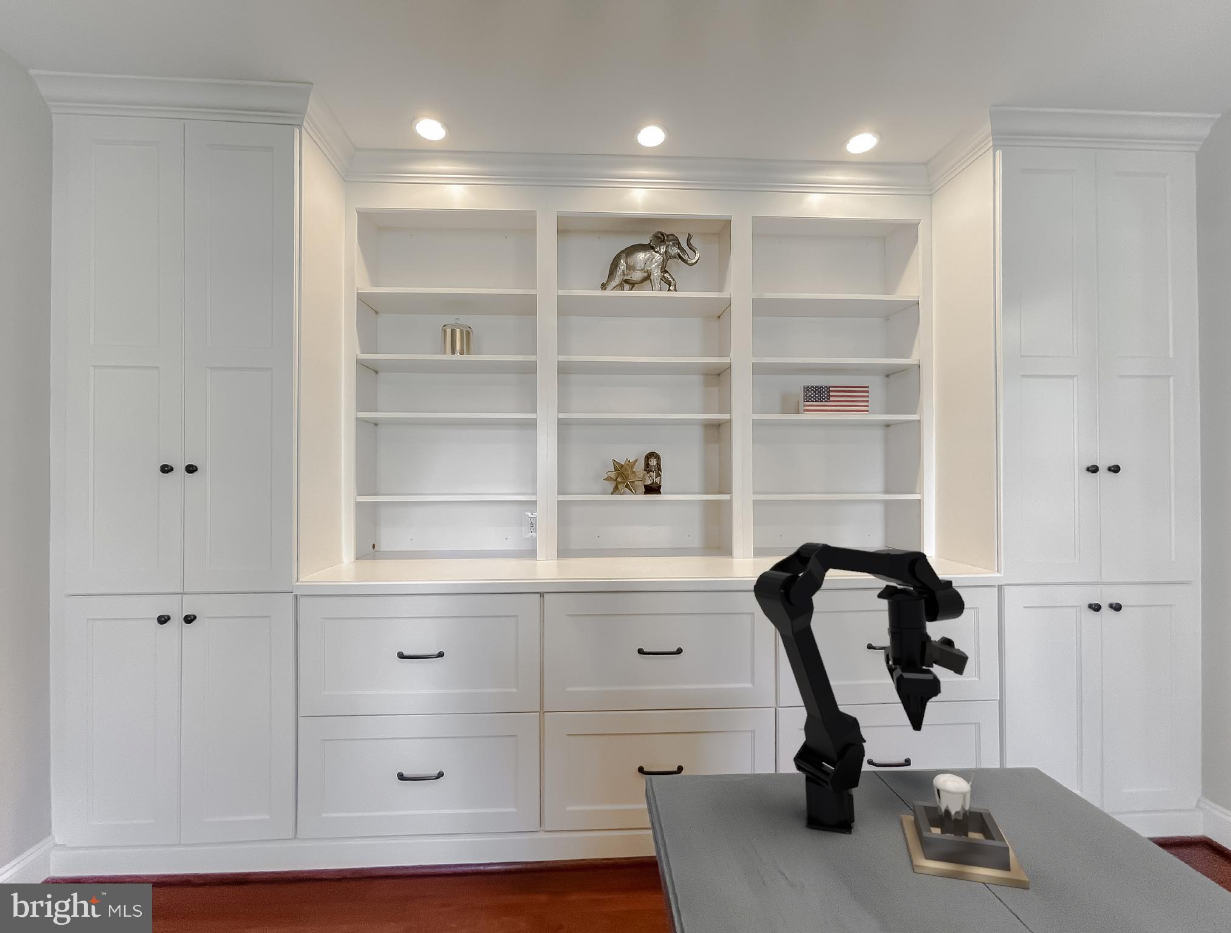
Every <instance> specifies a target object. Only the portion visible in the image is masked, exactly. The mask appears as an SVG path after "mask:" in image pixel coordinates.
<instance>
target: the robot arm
mask: <svg viewBox="0 0 1231 933" xmlns="http://www.w3.org/2000/svg"><path fill="white" fill-rule="evenodd" d="M830 569H831V570H837V571H845V572H846V571H847V572H854V573H861V574H867V575H870V576H872V577H874V578H876V579H879V580H882V581H884V582H887V583H891V584H885V586H884V587H883V589H881V590H880V591H879V592H878V593H877V594H876V598H877V599H880V600H884V601H886V602H887V615H888V616H887V617H888V618H887V619H888V620H887V621H888V627H887V635H888V638H889V645H888V646H887V647H886V648H885V649H884V650H883V656H884V658H883V659H884V664H885V667H886V669H887V672H888V674H889V676H890V678H891V681H892V683H893V685H894V689H895V692H896V693H897V696H898V699H899V700H900V703H901V705H902V707H903V711H904V712H905V714H906V717H907V719H908V721H909V723H910V726H911V728H912V730H913V731H914V732H921V731H922V728H923V723H924V719H925V715H926V711H927V710H926V709H927V706H928V702H929V701H930V700H932V699H933V698H936V697H938V696H939V694H942V687H941V686H942V685H941V680H940V678H939V677H938V675H937V674H936V673H935V672H934V671H933V670H932V669H934V665H936V666H938V667H941V668H942V669H946V670H949V671H952V672H953V673H954V674H955V675H958V676H963V675H964V672H965V669H966V666H967V663H968V661H969V656H968V654H967V653H966V652H965V651H963V650H961V649H960V648H959V647H958V648H956V644H955V641H954V640H953V639H952V638H951V637H950V638H949V637H946V636H942V637H940V638H939V639H938V640H936V639H933V640H932V636H931V635H929V633H928V630H927V628H928V627H927V623H936V622H942V621H948V620H956V619H959V618H960V617H961V616H963V614H964V612H965V608H966V607H965V605H966V604H965V601H964V599H963V597H962V595H961V593H960V592H959V591H958V589H956V588H955V587H954V586H953V581H952V580H951V579H944V578H942V579H941V578H940V577H939V576H938V574H937V573H936V571H935V569H934V567H933V566H932V565H931V563H930V562H929V559H928V558H927V554H926V553H924V552H922V551H920V550H909V549H907V550H906V549H894V548H886V549H876V550H873V551H870V550H861V549H855V548H849V547H848V548H847V547H840V546H832V545H829V544H828V543H822V542H805V543H803V544H801V545H800V546H799V547H798V548H797V549H795V551H794V552H792V553H791V554H790V555H789V554H788V555H787V556H786V557H784V558H783V559H780V560H779V561H777V562H776V563H774V564H773V565H772V566H771V567H770V568H769V569H768V570H767V571H763V572H762V573H761V574H760V575H759V576H758V577H757V578H756V582H755V584H754V585H753V594H754V597H755V600H756V602H757V603H758V605H759V607H760V609H761V611H762V613H763V614H764V616H765V617H766V619H767V620H769V622H770V624H772V625H773V626H774V627H775V629H777V632H778V633H779V637H780V639H781V641H782V645H783V648H784V650H785V653H786V656H787V659H788V660H787V661H788V663H789V665H790V668H791V670H792V674H793V676H794V680H795V683H796V685H797V687H798V691H799V694H800V697H801V700H802V704H803V706H804V709H805V711H806V717H805V721H804V726H803V733H804V737H805V740H804V741H803V743H802V744H801V746H800V747H799V749H798V751H797V753H796V754H795V755H794V757H793V759H792V760H793V763H794V766H795V768H796V771H798V772H799V773H802V774H803V775H805V776H804V777H805V778H804V779H805V780H804V782H805V783H804V784H805V786H804V787H805V803H806V804H805V807H806V808H805V827H807V828H810V829H818V830H825V831H832V832H839V833H849V834H851V833H852V832H853V825H852V824H854V823H855V802H854V800H855V799H854V791H853V790H854V789H856V788H858V787H859V784H860V778H861V773H862V769H863V764H864V759H865V757H866V750H865V745H864V744H866V743H867V740H866V739H865V737H864V736H863V733H862V730H861V725H860V723H859V719H858V718H857V717H856V716H853V715H851V714H848V713H846V712H844V711H841V710H840V708H839V704H838V702H837V700H836V696H835V693H834V689H833V688H832V685H831V682H830V679H829V678H830V677H829V676H828V673H827V669H826V667H825V664H824V660H823V658H822V654H821V651H820V649H819V646H818V643H817V641H816V637H815V635H814V632H813V629H812V625H811V624H812V619H813V616H814V611H815V605H814V599H813V597H814V596H815V595H816V594H817V593H818V592H819V591H820V589H822V587H823V584H824V581H825V578H826V575H827V573H828V572H829V570H830ZM892 583H893V584H896V585H893V584H892ZM898 586H899V587H898Z"/></svg>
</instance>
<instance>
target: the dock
mask: <svg viewBox="0 0 1231 933" xmlns="http://www.w3.org/2000/svg"><path fill="white" fill-rule="evenodd" d="M912 814H913V815H908V814H902V813H901V814H900V822H901V825H902V830H903V833H904V836H905V841H906V844H907V848H908V852H909V856H910V859H911V864H912V868H913V872H914V873H916V874H917V873H919V874H925V875H931V876H937V877H938V876H939V877H945V878H951V879H952V878H953V879H959V880H965V881H972V882H977V883H978V882H979V883H985V884H991V885H1000V886H1007V887H1013V888H1020V889H1026V890H1030V881H1029V879H1028V876H1027V875H1026V873H1025V871H1024V870H1023V868H1022V866H1021V864H1020V862H1019V860H1018V859H1017V857H1016V854H1015V853H1014V851H1013V849H1012V847H1011V846H1010V844H1009V842H1008V840H1007V838H1006V837H1005V835H1004V833H1003V831H1002V830H1001V828H1000V826H999V825H998V824H997V823H996V820H995V819H994V818H995V817H993V815H992V813H991V811H990V809H989V808H983V807H982V808H981V807H975V806H974V807H972V806H970V807H969V828H968V837H962V836H954V835H946V834H941V831H940V823H939V816H938V809H937V802H930V801H924V800H923V801H921V800H912Z"/></svg>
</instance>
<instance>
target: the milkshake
mask: <svg viewBox="0 0 1231 933" xmlns="http://www.w3.org/2000/svg"><path fill="white" fill-rule="evenodd" d="M975 775H976V771H973V772H972V775H971V777H970V780H969V782H968V781H967V780H965V779H964V778H962V777H961V776H958V775H955V774H952V773H941V774H937V775H936V776H935V777H934V779H933V780H932V784H933V789H934V790H933V791H934V796H935V803H937V809H938V816H939V823H940V831H941V834H946V835H954V836H962V837H968V828H969V807H971V806H970V805H971V804H970V803H971V789H972V788H971V785H972V782H973V780H974V778H975Z"/></svg>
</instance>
